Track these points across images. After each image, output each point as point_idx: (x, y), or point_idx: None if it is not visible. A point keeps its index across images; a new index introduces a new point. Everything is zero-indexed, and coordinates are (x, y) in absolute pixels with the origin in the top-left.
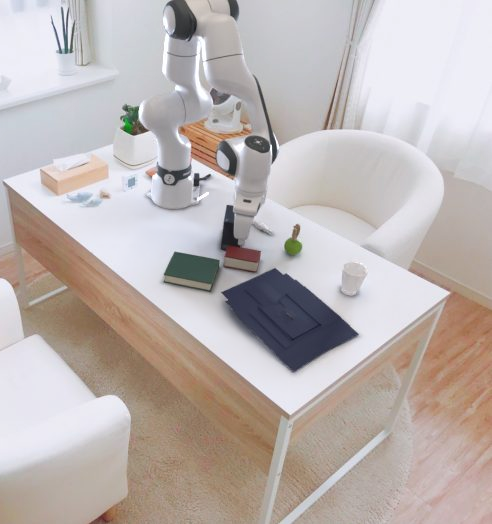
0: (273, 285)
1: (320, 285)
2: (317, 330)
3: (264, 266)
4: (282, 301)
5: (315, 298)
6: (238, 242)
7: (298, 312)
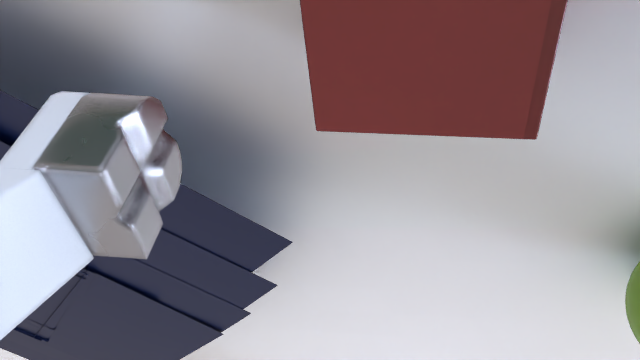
0: None
1: (357, 336)
2: None
3: None
4: None
5: (171, 349)
6: (42, 120)
7: None
